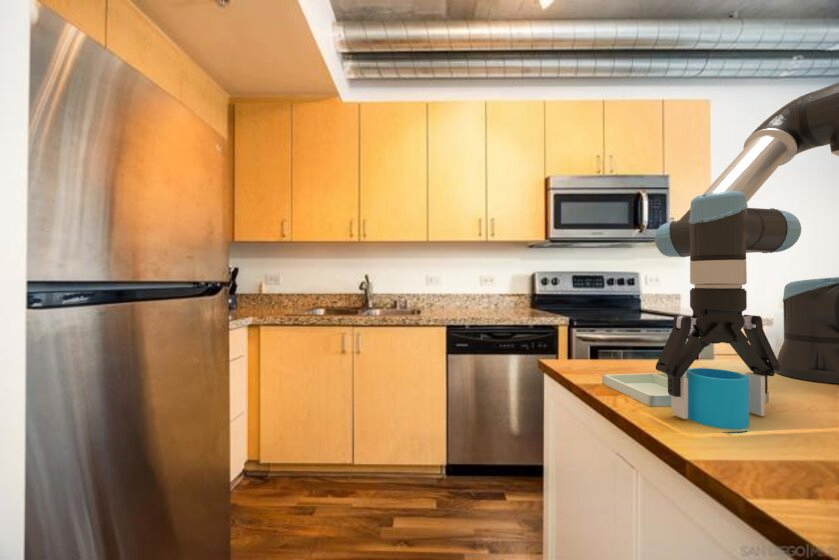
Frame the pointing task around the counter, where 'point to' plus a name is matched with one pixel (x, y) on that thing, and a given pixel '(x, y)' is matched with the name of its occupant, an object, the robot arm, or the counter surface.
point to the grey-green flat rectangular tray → (644, 387)
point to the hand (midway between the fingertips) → (717, 414)
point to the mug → (718, 398)
